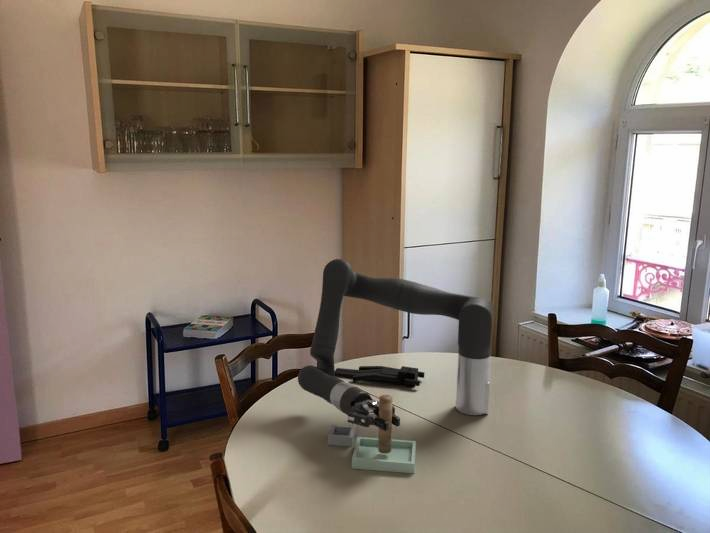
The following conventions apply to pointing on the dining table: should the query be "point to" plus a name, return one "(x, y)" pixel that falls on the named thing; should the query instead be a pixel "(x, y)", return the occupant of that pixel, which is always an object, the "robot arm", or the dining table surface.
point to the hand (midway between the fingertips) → (393, 424)
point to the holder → (342, 435)
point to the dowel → (386, 415)
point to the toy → (383, 374)
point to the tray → (384, 456)
